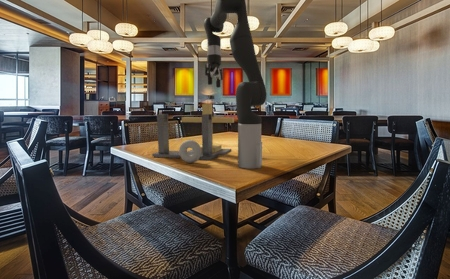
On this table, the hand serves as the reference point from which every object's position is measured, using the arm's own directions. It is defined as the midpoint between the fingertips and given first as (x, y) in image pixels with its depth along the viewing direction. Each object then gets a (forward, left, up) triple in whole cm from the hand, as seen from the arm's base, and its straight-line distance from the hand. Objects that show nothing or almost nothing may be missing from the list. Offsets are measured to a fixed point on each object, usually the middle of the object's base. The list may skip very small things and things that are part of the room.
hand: (214, 86), depth 140 cm
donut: (0, +34, -35) cm, 49 cm away
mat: (+1, +7, -35) cm, 35 cm away
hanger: (+2, +6, -34) cm, 35 cm away
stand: (+8, +22, -35) cm, 42 cm away
